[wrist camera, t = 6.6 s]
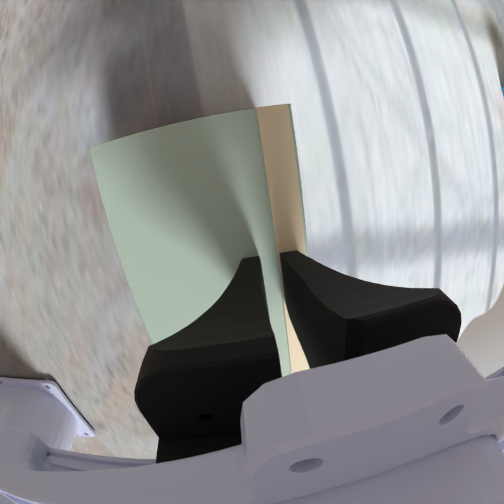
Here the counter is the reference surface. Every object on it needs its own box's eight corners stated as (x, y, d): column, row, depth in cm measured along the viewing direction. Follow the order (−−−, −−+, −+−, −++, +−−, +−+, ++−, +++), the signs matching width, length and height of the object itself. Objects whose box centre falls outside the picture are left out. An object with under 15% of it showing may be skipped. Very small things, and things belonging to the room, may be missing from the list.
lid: (178, 384, 15) (175, 393, 14) (97, 146, 10) (88, 148, 9) (313, 373, 14) (314, 383, 14) (288, 105, 9) (290, 103, 9)
